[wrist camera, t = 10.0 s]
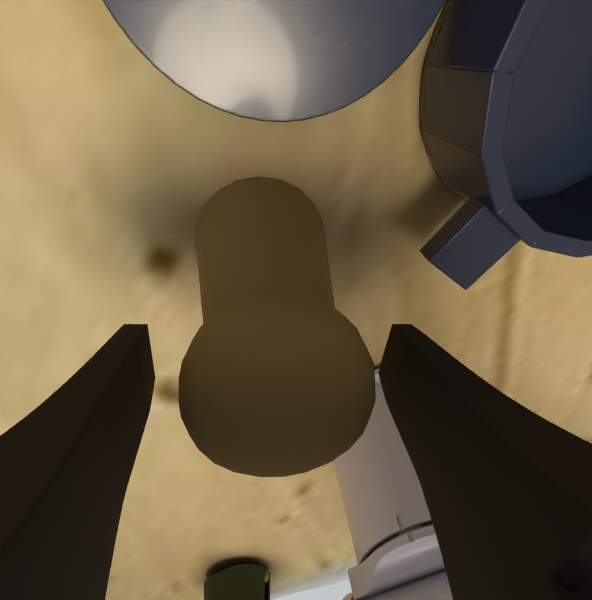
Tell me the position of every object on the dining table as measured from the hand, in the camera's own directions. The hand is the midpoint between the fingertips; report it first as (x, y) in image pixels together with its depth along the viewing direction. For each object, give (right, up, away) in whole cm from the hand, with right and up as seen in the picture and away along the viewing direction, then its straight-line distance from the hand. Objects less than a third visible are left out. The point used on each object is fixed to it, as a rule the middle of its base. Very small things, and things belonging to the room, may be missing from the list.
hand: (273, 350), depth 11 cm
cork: (-1, +4, +7) cm, 8 cm away
